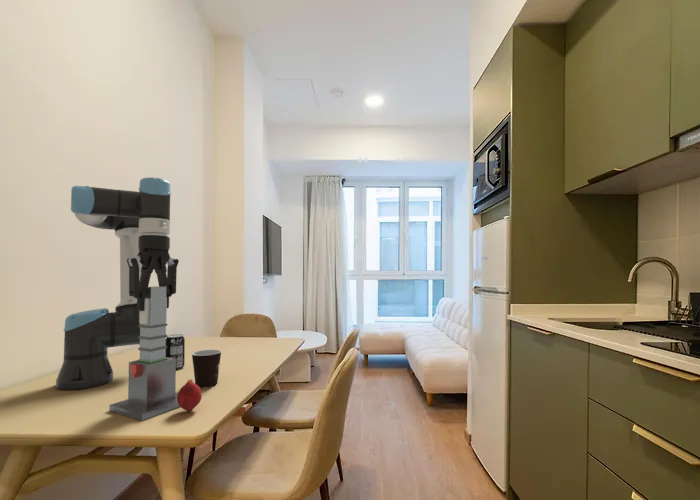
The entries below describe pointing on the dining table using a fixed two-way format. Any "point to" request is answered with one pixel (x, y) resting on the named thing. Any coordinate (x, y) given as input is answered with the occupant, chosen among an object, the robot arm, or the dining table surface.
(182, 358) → the beverage can
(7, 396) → the dining table surface
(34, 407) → the dining table surface
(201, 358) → the coffee mug
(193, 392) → the onion
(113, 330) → the robot arm
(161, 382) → the stand
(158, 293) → the column
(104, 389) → the dining table surface
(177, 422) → the dining table surface
